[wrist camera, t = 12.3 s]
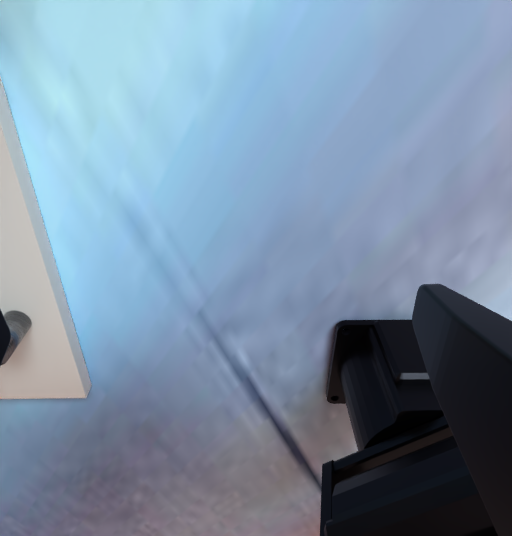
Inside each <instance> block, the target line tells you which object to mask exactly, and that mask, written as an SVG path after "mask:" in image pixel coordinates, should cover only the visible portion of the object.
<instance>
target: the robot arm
mask: <svg viewBox="0 0 512 536" xmlns="http://www.w3.org/2000/svg"><path fill="white" fill-rule="evenodd" d="M345 328H348V329H347V330H345V331H344V330H343V329H345ZM10 340H11V332H10V329H9V327H8V325H7V322H6V320H5V318H4V316H3V314H2V311H1V309H0V366H1V364H2V361H3V359H4V356H5V354H6V351H7V348H8V346H9V343H10ZM326 397H327V401H328V402H330V403H334V404H336V403H346V406H347V409H348V413H349V417H350V421H351V425H352V429H353V432H354V436H355V440H356V444H357V448H358V452H356V453H353V454H351V455H348V456H346V457H344V458H341V459H339V460H337V461H333V460H332V461H329V462H327V463H325V464H323V465H322V493H321V522H320V536H512V321H511V320H509V319H507V318H505V317H503V316H501V315H499V314H497V313H495V312H493V311H491V310H489V309H488V308H486V307H484V306H482V305H480V304H478V303H476V302H474V301H472V300H470V299H468V298H467V297H465V296H463V295H461V294H459V293H457V292H455V291H453V290H451V289H449V288H447V287H446V286H444V285H441V284H423V285H421V286H420V287H419V289H418V291H417V296H416V301H415V306H414V310H413V315H412V320H344V321H341V322H339V323H338V324H337V326H336V330H335V337H334V343H333V350H332V357H331V363H330V370H329V376H328V383H327V390H326Z"/></svg>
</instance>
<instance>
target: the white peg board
mask: <svg viewBox="0 0 512 536" xmlns="http://www.w3.org/2000/svg"><path fill="white" fill-rule="evenodd" d="M0 309H1V311H2V314H3V316H4V318H5V320H6V322H7V325H8V327H9V329H10V332H11V340H10V343H9V346H8V348H7V351H6V354H5V356H4V359H3V361H2V364H1V366H0V399H43V398H87V395H88V393H89V391H90V388H91V386H92V384H91V381H90V377H89V374H88V371H87V367H86V364H85V361H84V357H83V354H82V350H81V347H80V344H79V340H78V337H77V334H76V330H75V327H74V323H73V320H72V317H71V313H70V310H69V306H68V303H67V300H66V296H65V293H64V290H63V286H62V283H61V279H60V276H59V273H58V269H57V266H56V262H55V259H54V256H53V252H52V249H51V246H50V242H49V239H48V235H47V232H46V229H45V225H44V222H43V219H42V215H41V212H40V208H39V205H38V202H37V198H36V195H35V191H34V188H33V185H32V181H31V178H30V175H29V171H28V168H27V164H26V161H25V158H24V154H23V151H22V147H21V144H20V141H19V137H18V134H17V131H16V127H15V124H14V120H13V117H12V114H11V110H10V107H9V104H8V100H7V97H6V93H5V90H4V87H3V83H2V80H1V76H0Z"/></svg>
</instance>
